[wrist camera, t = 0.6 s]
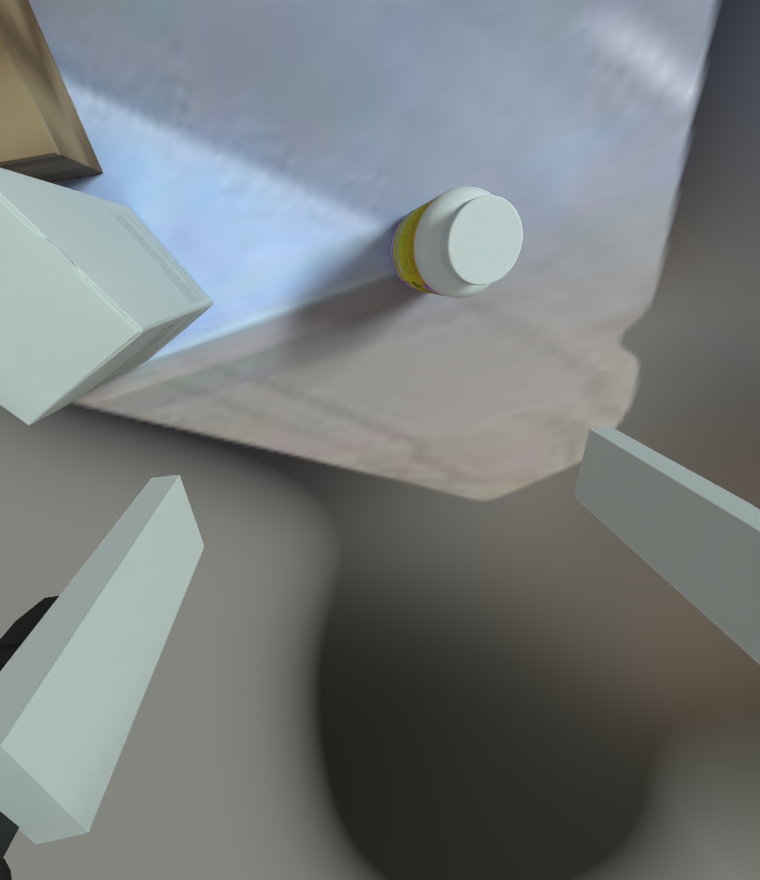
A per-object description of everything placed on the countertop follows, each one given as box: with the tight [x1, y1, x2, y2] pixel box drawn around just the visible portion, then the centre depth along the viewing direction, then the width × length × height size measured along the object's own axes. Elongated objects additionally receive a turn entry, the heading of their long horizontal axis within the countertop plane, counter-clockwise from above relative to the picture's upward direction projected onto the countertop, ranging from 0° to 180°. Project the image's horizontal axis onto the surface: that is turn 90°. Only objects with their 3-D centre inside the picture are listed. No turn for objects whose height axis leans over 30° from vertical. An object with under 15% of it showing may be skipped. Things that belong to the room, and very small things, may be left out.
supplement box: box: [0, 168, 213, 425], centre depth 23 cm, size 9×9×15 cm
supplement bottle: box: [391, 186, 523, 298], centre depth 27 cm, size 7×7×13 cm
